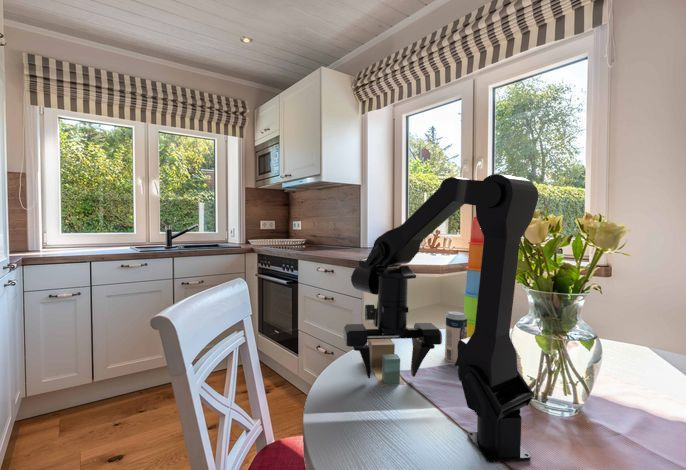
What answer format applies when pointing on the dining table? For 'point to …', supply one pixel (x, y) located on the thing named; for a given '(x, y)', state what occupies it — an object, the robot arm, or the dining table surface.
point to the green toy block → (389, 371)
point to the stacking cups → (473, 275)
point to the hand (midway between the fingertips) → (390, 376)
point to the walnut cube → (379, 350)
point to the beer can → (454, 333)
